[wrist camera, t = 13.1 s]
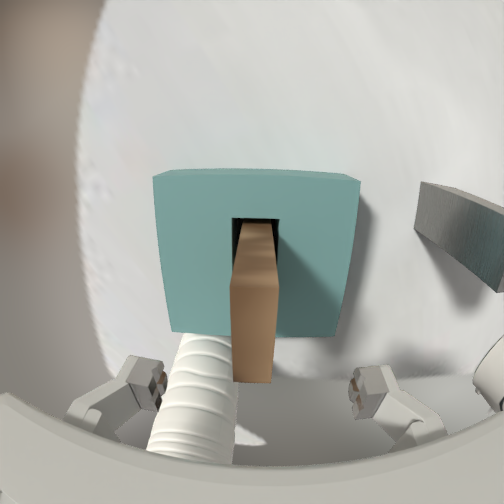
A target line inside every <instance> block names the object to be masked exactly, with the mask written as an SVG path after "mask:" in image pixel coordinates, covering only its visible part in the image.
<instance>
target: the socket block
mask: <svg viewBox="0 0 504 504" xmlns="http://www.w3.org/2000/svg"><path fill="white" fill-rule="evenodd" d="M360 184H361V181H359V180H357V179H354V178H352V177H350V176H347V175H345V174H338V173H327V172H313V171H297V170H276V169H185V170H170V171H167V172H164V173H161V174H159V175H156V176H153V191H154V205H155V217H156V227H157V237H158V246H159V254H160V262H161V270H162V277H163V283H164V290H165V296H166V302H167V308H168V314H169V319H170V325H171V330H172V332H181V333H193V334H206V335H222V336H231V320H230V288H229V286H230V281H231V276H232V271H233V267H234V262H235V257H236V252H237V226H236V218H269V219H276V223H275V245H274V249H275V257H276V265H277V274H278V282H279V297H278V310H277V322H276V334H275V337H330V336H335V332H336V328H337V324H338V319H339V315H340V311H341V306H342V301H343V297H344V292H345V287H346V282H347V276H348V271H349V265H350V260H351V254H352V247H353V241H354V234H355V227H356V220H357V212H358V203H359V194H360Z"/></svg>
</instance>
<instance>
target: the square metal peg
mask: <svg viewBox="0 0 504 504" xmlns="http://www.w3.org/2000/svg"><path fill="white" fill-rule="evenodd" d="M414 229H415V230H417V231H418V232H419V233H421V234H422V235H424V236H425V237H427V238H428V239H429V240H431V241H432V242H434V243H435V244H436V245H438V246H439V247H440V248H442V249H443V250H445V251H446V252H447V253H449V254H450V255H451V256H452V257H454V258H455V259H456V260H458V261H459V262H460V263H461V264H463V265H464V266H465V267H466V268H468V269H469V270H470V271H471V272H473V273H474V274H475V275H476V276H477V277H479V278H480V279H481V280H482V281H483V282H485V283H486V284H487V285H488V286H489V287H490V288H491V289H493V290H494V291H495V292H496V293H500V292H504V208H503V207H501V206H499V205H496V204H494V203H492V202H489V201H487V200H485V199H482V198H480V197H477V196H475V195H472V194H470V193H467V192H464V191H462V190H459V189H456V188H453V187H448V186H443V185H438V184H433V183H427V182H422V181H421V185H420V192H419V200H418V206H417V213H416V219H415V224H414Z"/></svg>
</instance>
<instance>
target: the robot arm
mask: <svg viewBox="0 0 504 504" xmlns="http://www.w3.org/2000/svg"><path fill="white" fill-rule="evenodd" d="M163 369H164V364H163V361H160V360H154V359H149V358H144V357H138V356H133V355H130V356H128V357H127V359H126V361H125V363H124V364H123V366H122V368H121V370H120V372H119V373H118V375H117V377H116V379H115V380H113V379H112V380H110V381H108V382H106V383H105V384H103V385H101V386H100V387H98V388H96V389H94V390H92V391H90V392H89V393H87V394H85V395H83V396H81V397H80V398H78V399H76V400H74V401H73V403H72V405H71V406H70V408H69V409H68V411H67V413H66V415H65V417H64V418H63V420H60V419H58V418H56V417H54V416H52V415H50V414H48V413H46V412H44V411H42V410H40V409H38V408H37V407H35V406H33V405H31V404H30V403H28V402H26V401H24V400H23V399H21V398H19V397H18V396H16V395H14V394H12V393H9V392H7V393H3V394H1V395H0V504H504V336H503V337H502V338H501V339H500V340H499V341H498V342H497V343H496V345H495V346H494V347H493V348H492V349H491V350H490V352H489V353H488V354H487V355H486V357H485V358H484V359H483V361H482V362H481V364H480V365H479V367H478V369H477V370H476V372H475V374H474V377H473V384H474V385H475V386H476V393H477V394H482V396H483V397H484V398H485V400H486V401H487V402H488V404H489V405H490V406H491V408H492V409H493V410H494V412H495V413H496V414H495V415H492V416H491V417H488V418H487V419H484V420H482V421H480V422H478V423H476V424H474V425H472V426H470V427H467V428H465V429H463V430H460V431H458V432H455V433H453V434H450V435H448V434H447V431H446V429H445V427H444V424H443V422H442V420H441V418H440V415H439V414H437V413H436V412H434V411H433V410H431V409H430V408H429V407H427V406H426V405H424V404H423V403H421V402H420V401H418V400H417V399H415V398H414V397H413V396H411V395H410V394H408V393H407V392H406V391H404V390H400V388H399V385H398V383H397V381H396V378H395V376H394V374H393V372H392V370H391V367H390V366H389V365H388V364H387V365H378V366H368V367H358V368H356V369H355V371H354V373H353V374H354V378H353V379H352V380H351V381H350V384H349V391H348V392H349V398H350V401H352V402H353V403H354V405H353V407H352V411H353V415H354V419H355V420H357V419H365V418H373V420H374V421H375V422H376V423H377V424H378V425H379V426H380V427H382V428H383V430H384V431H385V432H386V433H387V434H388V435H389V436H390V437H391V438H392V439H393V440H394V441H395V442H396V444H395V445H394V446H393V447H392V448H391V449H390V451H389V452H388V454H384V455H380V456H375V457H370V458H364V459H359V460H352V461H346V462H338V463H329V464H319V465H306V466H281V467H280V466H279V467H278V466H275V467H274V466H244V465H230V464H220V463H211V462H203V461H196V460H190V459H184V458H179V457H174V456H169V455H164V454H159V453H155V452H151V451H147V450H143V449H139V448H136V447H132V446H128V445H126V444H122V443H121V441H120V439H119V438H118V436H117V435H116V434H115V432H114V431H115V430H117V429H118V428H119V427H120V426H122V425H123V424H124V423H125V422H126V421H128V420H129V419H130V418H131V417H133V416H134V415H135V414H136V413H137V412H139V411H140V410H141V409H144V410H150V411H154V412H159V409H160V406H161V403H162V398H161V396H162V395H163V394H165V392H166V389H167V383H168V381H167V375H166V373H165V372H164V371H163Z"/></svg>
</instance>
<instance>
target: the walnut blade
mask: <svg viewBox="0 0 504 504" xmlns="http://www.w3.org/2000/svg"><path fill="white" fill-rule="evenodd" d="M229 288H230V320H231V346H232V368H233V382H244V383H271V376H272V366H273V356H274V345H275V334H276V322H277V310H278V297H279V282H278V274H277V265H276V257H275V249H274V241H273V233H272V226H271V219H269V218H244V219H243V223H242V228H241V233H240V238H239V242H238V247H237V252H236V257H235V262H234V267H233V271H232V276H231V281H230V286H229Z"/></svg>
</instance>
